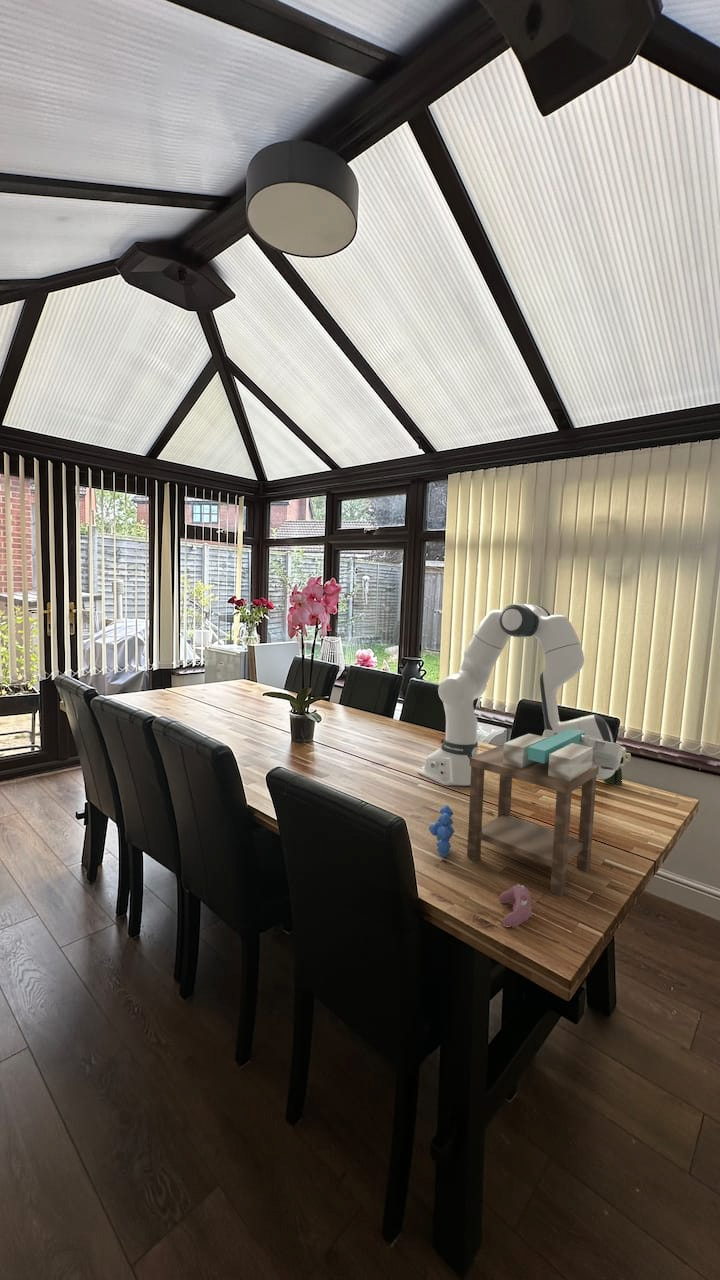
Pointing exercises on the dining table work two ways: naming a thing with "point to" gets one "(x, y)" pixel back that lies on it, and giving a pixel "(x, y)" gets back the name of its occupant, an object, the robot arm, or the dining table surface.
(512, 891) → the video game controller
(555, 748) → the module bar
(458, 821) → the dining table surface
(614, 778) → the character mug
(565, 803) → the shelf
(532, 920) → the dining table surface
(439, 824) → the grapes
